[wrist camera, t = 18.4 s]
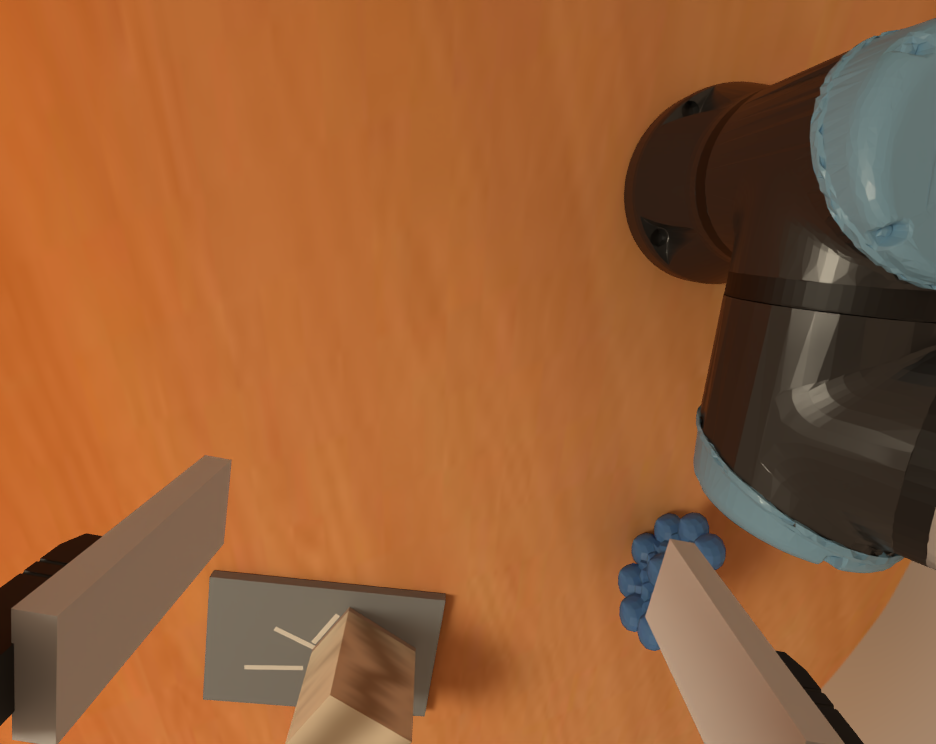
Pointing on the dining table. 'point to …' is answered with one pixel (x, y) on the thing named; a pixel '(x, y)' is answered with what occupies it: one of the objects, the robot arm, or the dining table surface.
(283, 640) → the board
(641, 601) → the grapes
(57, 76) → the dining table surface
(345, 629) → the block
